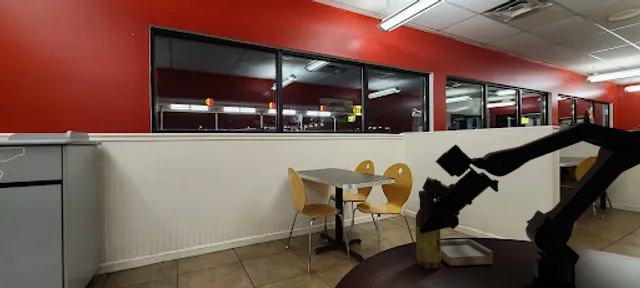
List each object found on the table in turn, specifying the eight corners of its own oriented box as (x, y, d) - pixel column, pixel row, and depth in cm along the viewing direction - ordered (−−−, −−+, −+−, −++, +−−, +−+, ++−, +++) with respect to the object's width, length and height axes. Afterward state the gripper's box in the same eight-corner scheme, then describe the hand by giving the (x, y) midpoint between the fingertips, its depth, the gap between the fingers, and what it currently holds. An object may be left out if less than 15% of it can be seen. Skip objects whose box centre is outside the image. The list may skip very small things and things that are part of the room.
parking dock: (470, 249, 85) (470, 238, 85) (492, 263, 75) (492, 251, 75) (432, 251, 84) (432, 240, 84) (450, 265, 74) (450, 253, 74)
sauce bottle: (443, 271, 71) (442, 193, 71) (418, 269, 73) (416, 193, 72) (438, 260, 78) (436, 189, 78) (414, 259, 79) (413, 189, 79)
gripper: (440, 164, 83) (402, 199, 87) (442, 170, 65) (394, 214, 69) (470, 192, 80) (429, 227, 84) (481, 207, 62) (429, 249, 66)
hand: (420, 228), depth 76 cm, fingers closed on sauce bottle, 6 cm apart
